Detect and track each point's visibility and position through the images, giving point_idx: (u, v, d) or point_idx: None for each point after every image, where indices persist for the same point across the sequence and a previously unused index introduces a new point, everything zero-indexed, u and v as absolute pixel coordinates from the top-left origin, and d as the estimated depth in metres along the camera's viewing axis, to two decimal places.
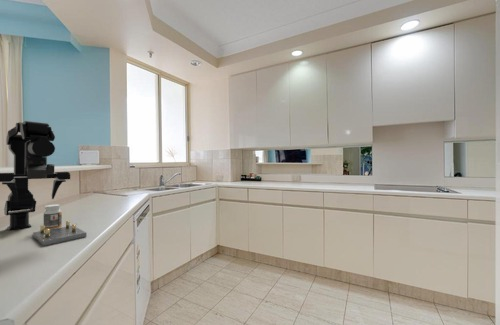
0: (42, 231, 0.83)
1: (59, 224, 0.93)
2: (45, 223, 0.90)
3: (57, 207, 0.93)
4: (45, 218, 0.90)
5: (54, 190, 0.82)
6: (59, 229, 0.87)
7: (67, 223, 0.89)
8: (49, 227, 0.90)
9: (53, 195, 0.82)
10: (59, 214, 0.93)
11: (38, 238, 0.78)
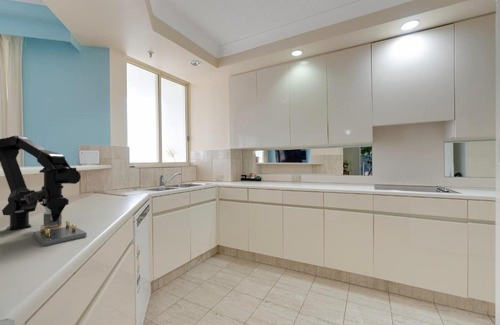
0: (42, 231, 0.83)
1: (59, 224, 0.93)
2: (45, 223, 0.90)
3: None
4: (45, 218, 0.90)
5: (51, 214, 0.90)
6: (59, 229, 0.87)
7: (67, 223, 0.89)
8: (49, 227, 0.90)
9: (52, 218, 0.90)
10: None
11: (38, 238, 0.78)
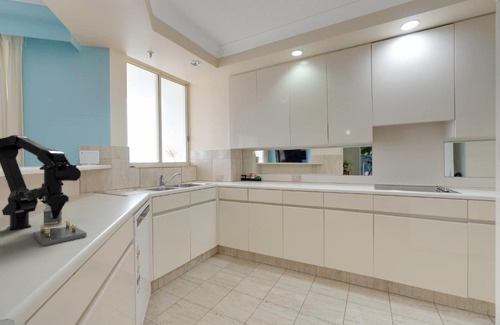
0: (42, 231, 0.83)
1: (59, 221, 0.93)
2: (45, 220, 0.90)
3: None
4: (45, 215, 0.90)
5: (51, 211, 0.90)
6: (59, 229, 0.87)
7: (67, 223, 0.89)
8: (49, 224, 0.90)
9: (52, 215, 0.90)
10: None
11: (38, 238, 0.78)
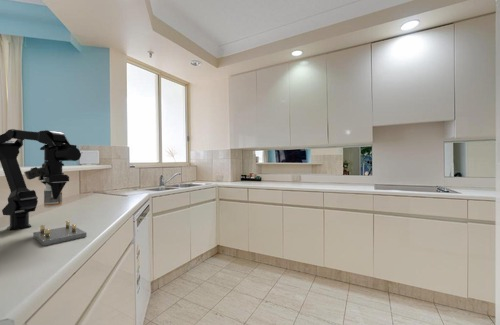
0: (42, 231, 0.83)
1: (60, 202, 0.93)
2: (46, 200, 0.90)
3: None
4: (46, 195, 0.90)
5: None
6: (59, 229, 0.87)
7: (67, 223, 0.89)
8: (50, 204, 0.90)
9: None
10: (60, 192, 0.93)
11: (38, 238, 0.78)
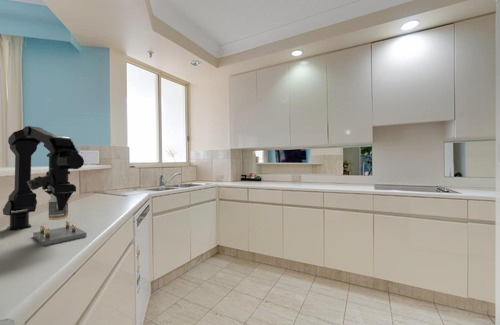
0: (42, 231, 0.83)
1: (65, 213, 0.84)
2: (50, 212, 0.82)
3: None
4: (50, 206, 0.82)
5: (57, 202, 0.81)
6: (59, 229, 0.87)
7: (67, 223, 0.89)
8: (55, 216, 0.82)
9: (58, 207, 0.82)
10: None
11: (38, 238, 0.78)
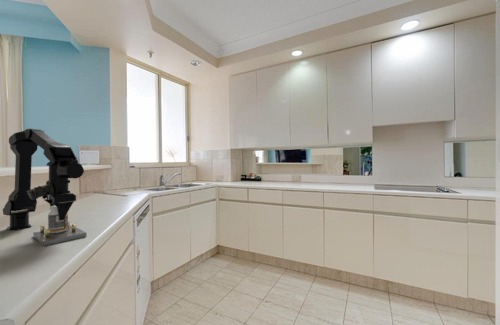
0: (42, 231, 0.83)
1: (65, 226, 0.84)
2: (50, 225, 0.82)
3: None
4: (50, 220, 0.82)
5: None
6: None
7: None
8: (54, 229, 0.82)
9: None
10: None
11: (38, 238, 0.78)
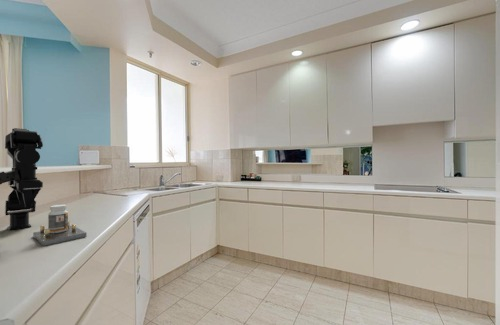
0: (42, 231, 0.83)
1: (65, 226, 0.84)
2: (50, 225, 0.82)
3: (63, 207, 0.84)
4: (50, 220, 0.82)
5: (23, 198, 0.79)
6: None
7: None
8: (54, 229, 0.82)
9: (24, 203, 0.80)
10: (65, 215, 0.84)
11: (38, 238, 0.78)
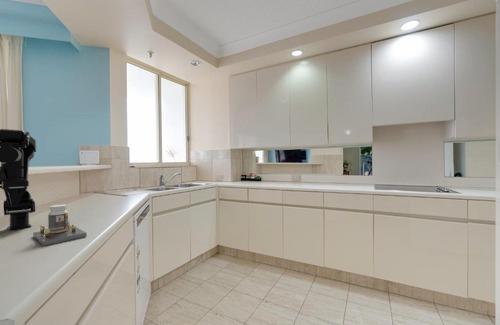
0: (42, 231, 0.83)
1: (65, 226, 0.84)
2: (50, 225, 0.82)
3: (63, 207, 0.84)
4: (50, 220, 0.82)
5: (9, 198, 0.78)
6: None
7: None
8: (54, 229, 0.82)
9: (10, 203, 0.79)
10: (65, 215, 0.84)
11: (38, 238, 0.78)
